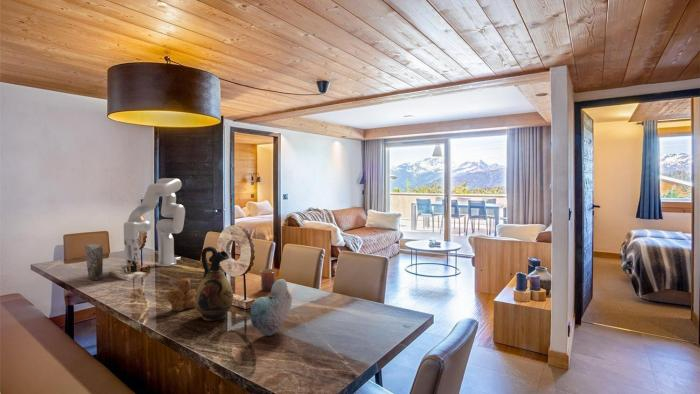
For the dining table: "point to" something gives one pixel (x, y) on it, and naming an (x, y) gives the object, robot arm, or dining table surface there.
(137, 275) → the birch board
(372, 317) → the dining table surface
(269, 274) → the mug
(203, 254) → the ceramic jug
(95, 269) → the stone block
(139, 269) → the marking gauge
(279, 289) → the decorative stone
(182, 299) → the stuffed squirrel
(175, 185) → the robot arm
